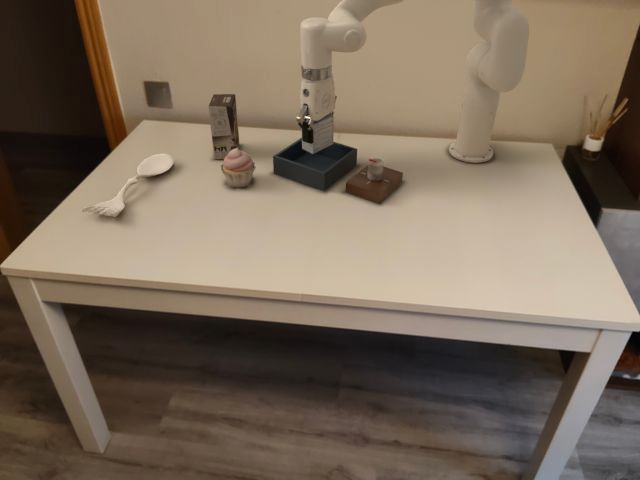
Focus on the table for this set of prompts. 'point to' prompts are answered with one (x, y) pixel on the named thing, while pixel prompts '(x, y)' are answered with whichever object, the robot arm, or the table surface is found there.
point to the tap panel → (374, 184)
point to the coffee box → (223, 124)
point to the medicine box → (321, 134)
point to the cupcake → (238, 168)
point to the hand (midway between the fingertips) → (317, 135)
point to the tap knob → (375, 169)
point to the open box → (315, 164)
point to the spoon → (145, 169)
